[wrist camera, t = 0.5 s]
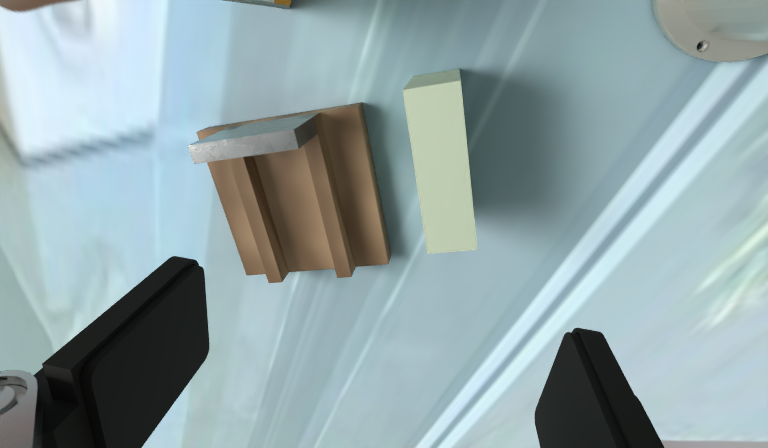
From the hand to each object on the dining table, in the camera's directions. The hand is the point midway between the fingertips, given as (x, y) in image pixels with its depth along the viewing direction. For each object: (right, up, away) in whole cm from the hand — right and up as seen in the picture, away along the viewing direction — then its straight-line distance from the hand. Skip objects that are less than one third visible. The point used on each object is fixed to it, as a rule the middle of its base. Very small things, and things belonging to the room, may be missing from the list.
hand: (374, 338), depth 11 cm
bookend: (-10, +12, +28) cm, 32 cm away
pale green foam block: (+6, +10, +29) cm, 31 cm away
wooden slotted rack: (-8, +6, +33) cm, 35 cm away
